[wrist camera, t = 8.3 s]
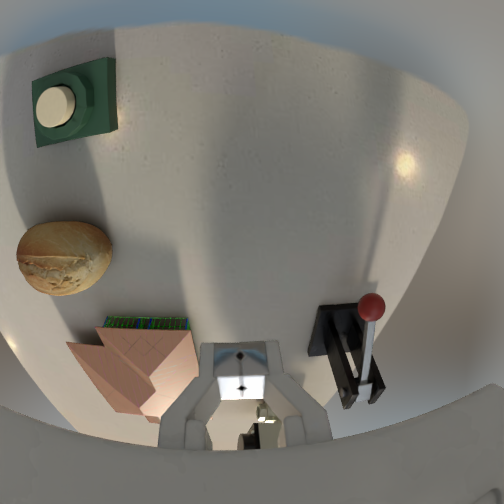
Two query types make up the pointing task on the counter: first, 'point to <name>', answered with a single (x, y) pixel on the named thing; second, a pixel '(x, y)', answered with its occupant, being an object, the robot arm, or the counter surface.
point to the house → (140, 366)
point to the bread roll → (63, 256)
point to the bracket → (343, 349)
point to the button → (55, 106)
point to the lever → (368, 340)
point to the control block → (81, 101)
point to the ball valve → (261, 431)
